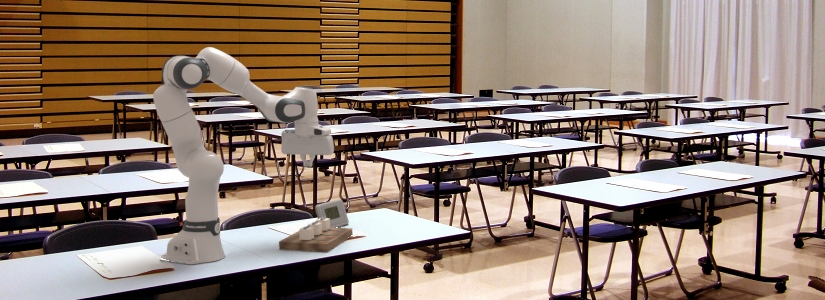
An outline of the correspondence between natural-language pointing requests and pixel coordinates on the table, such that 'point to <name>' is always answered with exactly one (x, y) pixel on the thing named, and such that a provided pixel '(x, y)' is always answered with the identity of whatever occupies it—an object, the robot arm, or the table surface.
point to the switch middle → (316, 227)
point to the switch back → (324, 223)
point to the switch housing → (316, 240)
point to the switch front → (306, 233)
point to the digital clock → (333, 212)
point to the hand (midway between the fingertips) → (308, 166)
